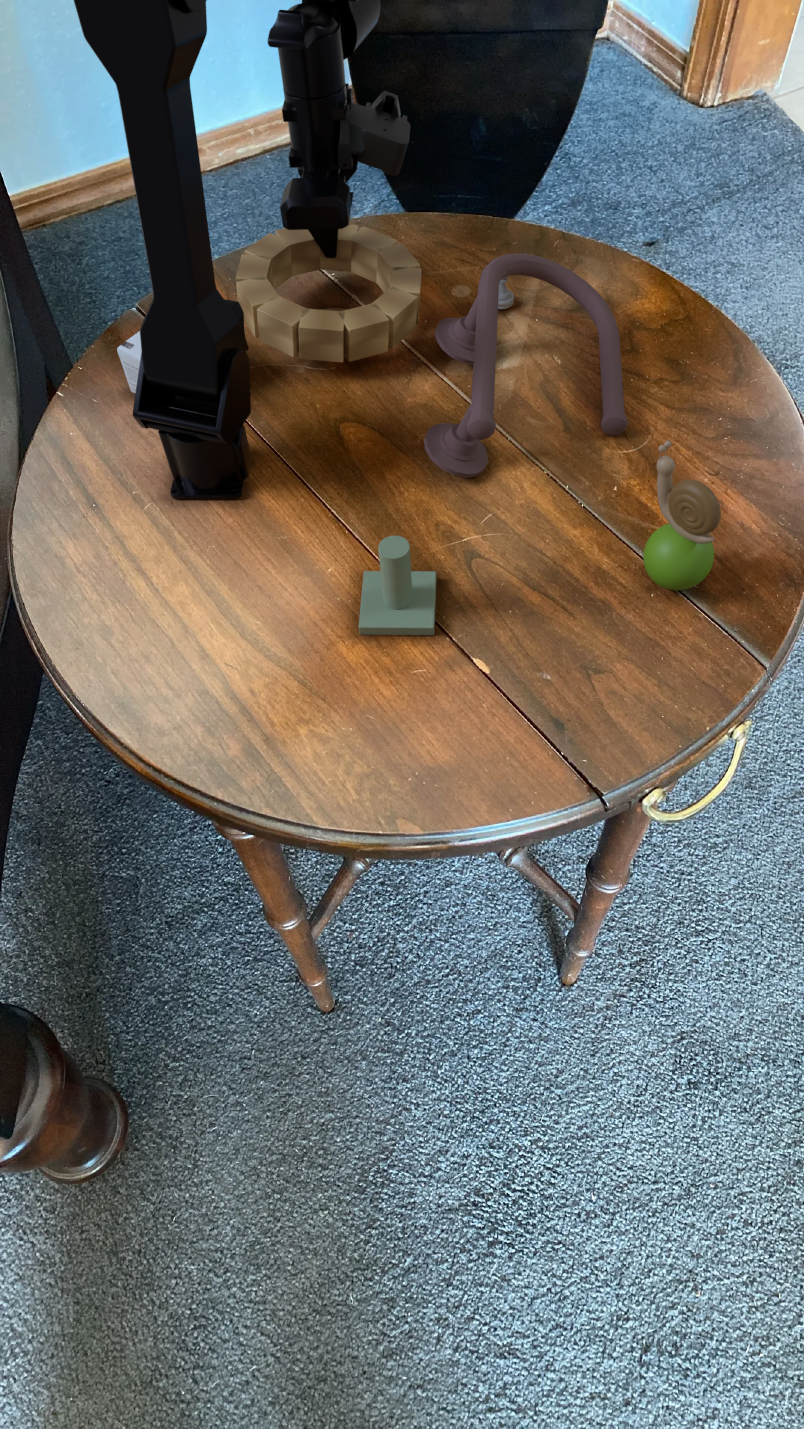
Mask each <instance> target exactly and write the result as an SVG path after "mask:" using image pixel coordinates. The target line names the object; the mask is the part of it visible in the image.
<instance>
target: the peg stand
mask: <svg viewBox="0 0 804 1429" xmlns="http://www.w3.org/2000/svg"><path fill="white" fill-rule="evenodd" d="M377 550H378V559H379V570H364V571H363V576H362V587H361V596H360V608H359V616H358V617H359V618H358V633H359V635H360V636H434V635H435V624H436V599H437V598H436V597H437V596H436V595H437V571H435V570H427V571H424V570H423V571H422V570H413V571H412V560H411V545H410V543H409V540H408V539H407V538H405V537H403V536H401V535H388V536H386V537H384V538H382V540H380V541H379V544H378V547H377Z"/></svg>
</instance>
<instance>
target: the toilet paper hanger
mask: <svg viewBox="0 0 804 1429" xmlns="http://www.w3.org/2000/svg"><path fill="white" fill-rule="evenodd" d="M507 276H508V277H510V276H522V277H523V276H525V277H531V278H533V279H536V280H540V281H542V282H546V283H547V284H549V285H552V286H553V287H555V288H557V289H559V290H561V291H562V292H563V293H565V294H566V295H568V296H569V297H571V298H572V299H573V300H574V301H575V302H576V303H577V304H578V305H580V307H582V309H584V311H585V312H586V313H587V315H589V317H590V318H591V320H592V321H593V324H594V326H595V327H596V330H597V335H598V348H599V349H598V350H599V368H600V387H601V388H600V389H601V405H602V407H601V408H602V418H601V421H600V427H601V430H602V432H604V433H605V434H606V435H608V436H610V437H611V436H612V437H615V436H620V435H621V434H623V433H624V432H625V431H626V430H627V428H628V425H629V420H628V417H627V415H626V413H625V412H626V410H625V398H624V383H623V370H622V369H623V368H622V357H621V356H622V355H621V342H620V332H619V328H618V324H617V320H616V317H615V315H614V314H613V312H612V310H611V308H610V306H609V304H608V303H607V301H606V300H605V299H604V298H603V296H602V294H600V293H599V291H598V290H596V289H595V288H594V287H593V286H592V285H591V284H590V283H589V282H588V281H587V280H585V279H584V278H583V277H581V276H580V275H578V274H577V273H575V272H573V270H571V269H569V268H567V267H565V266H564V265H561V264H560V263H557V262H555V261H554V260H550V259H548V258H545V257H542V256H539V255H535V254H530V253H529V254H528V253H522V252H521V253H520V252H519V253H507V254H503V255H500V256H498V257H494V258H493V259H492V260H490V261H489V263H488V264H487V265H486V266H485V267H484V268H483V269H482V270H481V274H480V277H479V281H478V286H477V296H476V297H475V300H474V301H473V303H472V305H471V307H470V310H469V311H468V313H467V315H463V316H462V317H460V318H458V317H445V318H443V319H442V320H440V321H439V322H438V323H437V325H436V328H435V330H434V337H435V341H436V342H437V344H438V345H439V347H440V349H441V350H442V351H443V352H444V353H446V354H447V355H448V357H450V358H452V359H454V360H456V361H457V362H459V363H462V364H465V365H469V366H473V368H472V384H471V396H470V397H471V399H470V405H469V407H468V408H467V410H466V411H465V413H464V415H463V417H462V419H461V421H460V422H459V423H451V422H439V423H436V424H434V425H432V426H431V427H430V428H428V430H427V432H426V434H425V436H424V439H423V444H424V450H425V453H426V454H427V456H428V457H429V459H430V460H431V462H433V463H434V464H435V465H436V466H437V467H438V468H439V469H440V470H442V471H443V472H446V473H447V474H450V475H452V476H455V477H458V478H459V477H460V478H465V479H468V478H474V477H477V476H479V475H480V474H482V473H483V472H484V470H485V469H486V467H487V465H488V461H489V456H488V452H487V448H486V447H485V446H484V444H483V442H482V441H484V440H488V439H489V438H491V437H492V436H493V435H494V433H495V431H496V427H497V424H496V420H495V419H494V416H495V415H494V412H495V390H496V389H495V388H496V368H497V366H496V365H497V345H498V344H497V343H498V318H499V317H498V316H499V309H498V296H499V283H500V281H501V280H502V278H505V277H507Z"/></svg>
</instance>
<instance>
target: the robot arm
mask: <svg viewBox="0 0 804 1429" xmlns="http://www.w3.org/2000/svg"><path fill="white" fill-rule="evenodd" d="M207 1H208V0H73V3H74V7H75V10H76V13H77V17H78V21H79V25H80V28H81V32H82V35H83V37H84V38H83V39H85V41H86V43H87V44H88V46H89V47H90V49H91V50H92V51H93V53H94V55H95V56H96V58H97V59H98V60H99V62H100V63H101V65H102V66H103V68H104V69H105V71H106V72H107V74H108V76H110V78H111V79H112V81H113V82H114V84H115V87H116V91H117V95H118V101H119V107H120V112H121V118H122V123H123V128H124V136H125V142H126V146H127V152H128V157H129V158H128V159H129V163H130V167H131V168H130V169H131V175H132V180H133V186H134V192H135V198H136V205H137V209H138V215H139V219H140V220H139V222H140V226H141V233H142V238H143V244H144V250H145V255H146V260H147V264H148V265H147V266H148V271H149V277H150V283H151V290H152V300H151V302H150V304H149V307H148V309H147V311H146V314H145V316H144V318H143V321H142V323H141V324H140V327H139V331H140V339H141V350H142V352H141V359H140V366H139V372H138V379H137V386H136V393H134V399H133V408H132V417H133V419H134V420H135V421H136V423H138V425H139V426H140V427H141V429H145V430H146V429H147V430H148V429H151V430H157V431H158V437H159V439H160V442H161V445H162V449H163V451H164V454H165V459H166V461H167V464H168V468H169V470H170V472H171V476H172V482H171V487H170V491H169V493H170V497H171V498H172V499H175V500H194V499H195V500H199V499H200V500H237V499H240V498H241V497H242V496H243V492H244V487H245V482H246V480H248V478H249V477H250V472H251V468H252V463H253V457H252V453H251V448H250V444H249V439H248V436H247V431H246V427H245V422H247V420H248V419H249V416H251V412H252V402H251V401H252V400H251V399H252V398H251V363H250V357H249V355H248V353H247V351H249V345H248V341H247V338H246V333H245V321H244V312H243V310H242V308H241V305H240V303H239V302H238V300H231V299H225V298H224V297H223V296H222V294H221V293H220V291H219V290H218V288H217V284H216V278H215V271H214V262H213V255H212V246H211V240H210V232H209V224H208V222H209V221H208V215H207V214H208V213H207V207H206V201H205V192H204V185H203V184H204V183H203V176H202V168H201V160H200V152H199V146H198V144H199V143H198V139H197V138H198V136H197V129H196V128H197V127H196V121H195V120H196V119H195V113H194V106H193V97H192V91H191V90H192V89H191V76H192V73H193V70H194V68H195V66H196V63H197V60H198V57H199V55H200V53H201V50H202V47H203V45H204V43H205V40H206V38H207V34H208V20H207V19H208V17H207ZM380 15H381V0H301V2H300V3H297V4H295V5H292V6H291V7H289V8H288V9H279V10H278V11H277V15H276V16H277V17H276V19H275V22H274V23H273V25H272V27H271V28H270V29H269V31H268V36H267V46H268V47H269V48H277V53H278V60H279V68H280V75H281V82H282V90H283V98H284V100H283V104H282V108H281V114H282V120H283V123H287V127H288V134H289V141H290V148H289V153H288V163H289V168H290V169H296V168H297V173H298V175H299V177H292V178H291V179H290V180H289V182H288V183H287V184H286V186H285V187H284V188H283V191H282V192H283V193H282V196H281V200H280V201H281V202H280V206H279V209H280V210H279V211H280V216H281V222H282V223H281V224H282V228H286V229H287V230H308V231H309V232H310V234H311V235H312V237H313V238H314V240H315V241H316V243H317V245H318V246H319V248H320V249H321V251H322V252H323V254H324V255H325V257H326V258H335V257H336V255H337V245H338V232H339V229H343V228H345V227H347V226H349V224H350V221H351V220H350V219H351V214H352V213H351V212H352V206H353V200H354V191H351V187H350V185H348V184H347V183H348V182H349V181H350V179H351V178H352V177H353V176H354V175H355V174H356V172H357V170H358V166H359V163H360V164H363V165H366V166H369V167H372V168H375V169H377V170H380V171H383V173H384V174H385V175H388V176H394V177H395V176H398V175H399V174H400V173H401V170H402V167H403V162H404V159H405V156H406V152H407V149H408V146H409V143H410V136H411V123H410V122H409V121H408V115H405V114H403V115H401V114H402V113H401V107H400V101H399V96H398V95H397V94H395V93H393V92H389V91H387V90H383V91H382V92H381V93H380V94H379V96H378V97H377V98H376V99H375V100H374V101H373V102H368V101H367V102H366V105H365V106H364V105H362V104H359V103H356V102H355V103H354V95H353V94H354V93H353V88H350V84H349V83H346V72H345V61H344V60H347V59H349V58H350V57H351V55H352V54H354V52H356V51H357V49H358V48H359V46H361V44H362V43H363V41H365V39H366V38H367V37H368V35H369V34H370V33H371V32H372V31H373V29H374V28H375V27H376V25H377V24H378V22H379V18H380ZM401 116H402V117H401Z"/></svg>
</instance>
